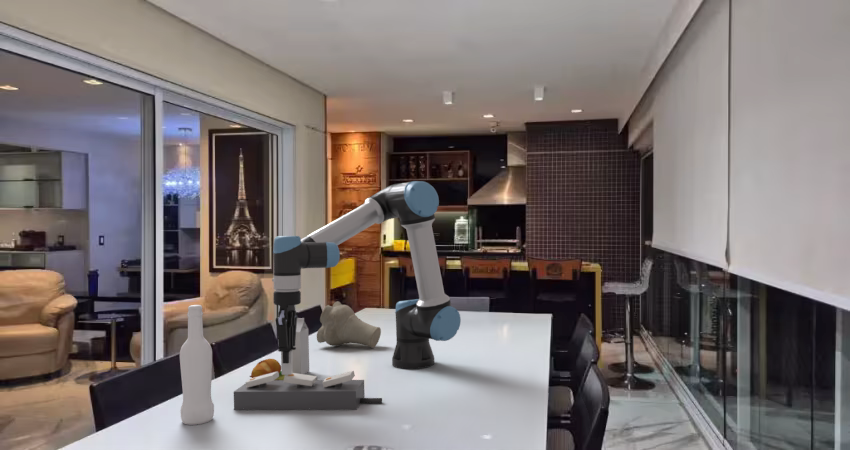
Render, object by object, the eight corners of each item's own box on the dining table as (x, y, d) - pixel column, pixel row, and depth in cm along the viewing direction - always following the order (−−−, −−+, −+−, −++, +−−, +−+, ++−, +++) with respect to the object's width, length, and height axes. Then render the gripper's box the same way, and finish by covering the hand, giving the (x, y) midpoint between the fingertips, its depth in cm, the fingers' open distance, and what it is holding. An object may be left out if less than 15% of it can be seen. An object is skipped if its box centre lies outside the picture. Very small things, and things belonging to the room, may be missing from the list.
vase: (400, 313, 251) (343, 295, 261) (381, 312, 231) (319, 293, 240) (387, 363, 249) (330, 344, 259) (366, 366, 229) (305, 345, 239)
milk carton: (301, 376, 198) (299, 319, 198) (281, 376, 199) (280, 319, 200) (309, 371, 205) (308, 316, 205) (290, 371, 206) (289, 316, 207)
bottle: (186, 416, 158) (183, 303, 158) (217, 414, 159) (215, 302, 159) (176, 426, 150) (173, 307, 150) (209, 424, 151) (206, 306, 151)
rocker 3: (354, 375, 169) (353, 370, 169) (351, 380, 164) (349, 374, 164) (328, 382, 169) (326, 377, 169) (323, 387, 164) (322, 381, 164)
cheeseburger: (294, 383, 189) (289, 354, 187) (275, 400, 179) (270, 370, 177) (266, 381, 192) (262, 352, 190) (247, 398, 183) (242, 368, 180)
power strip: (385, 397, 171) (384, 376, 171) (378, 409, 159) (377, 388, 159) (250, 397, 175) (250, 377, 175) (234, 409, 163) (233, 388, 163)
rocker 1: (279, 376, 170) (277, 370, 170) (273, 380, 165) (271, 374, 165) (253, 383, 171) (251, 377, 171) (246, 387, 166) (245, 382, 166)
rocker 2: (316, 381, 170) (317, 375, 170) (311, 386, 165) (312, 380, 165) (289, 377, 170) (289, 371, 170) (283, 382, 165) (284, 376, 165)
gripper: (281, 288, 175) (281, 368, 174) (266, 292, 162) (266, 379, 161) (306, 288, 174) (306, 368, 174) (293, 292, 161) (293, 380, 161)
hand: (287, 373), depth 168 cm, fingers closed
